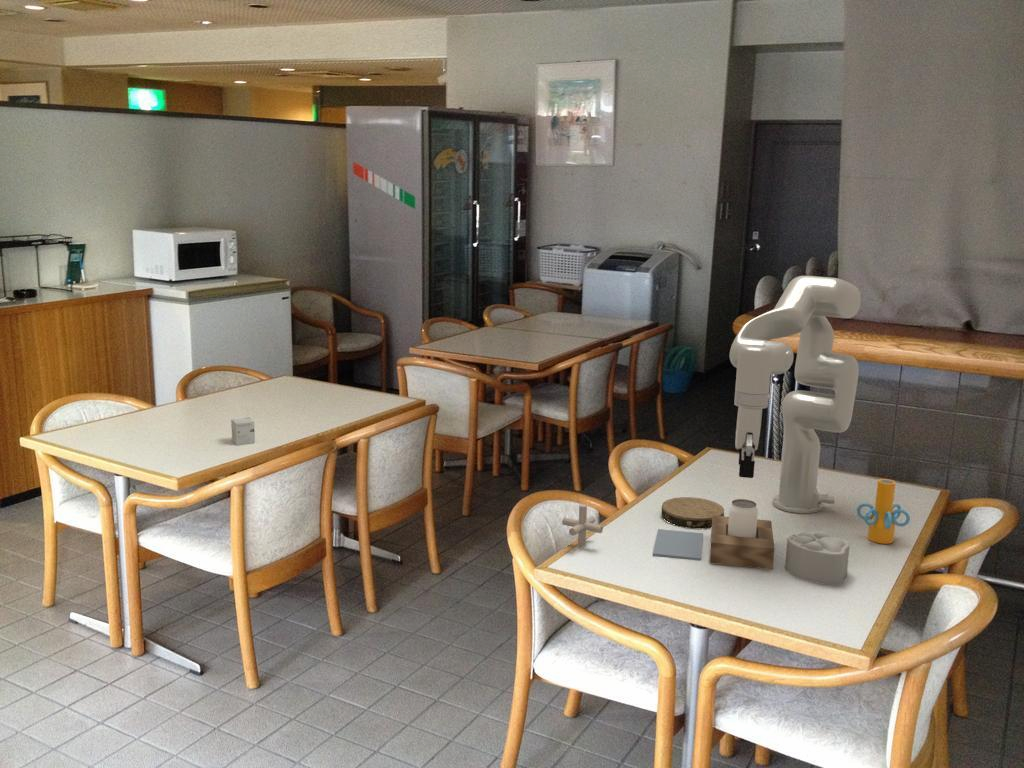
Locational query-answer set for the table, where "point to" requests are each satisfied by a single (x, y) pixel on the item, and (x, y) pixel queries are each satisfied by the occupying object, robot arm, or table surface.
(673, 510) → the wooden disc
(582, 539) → the pipe connector
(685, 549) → the rubber mat
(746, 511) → the can
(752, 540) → the housing block
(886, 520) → the cylinder
